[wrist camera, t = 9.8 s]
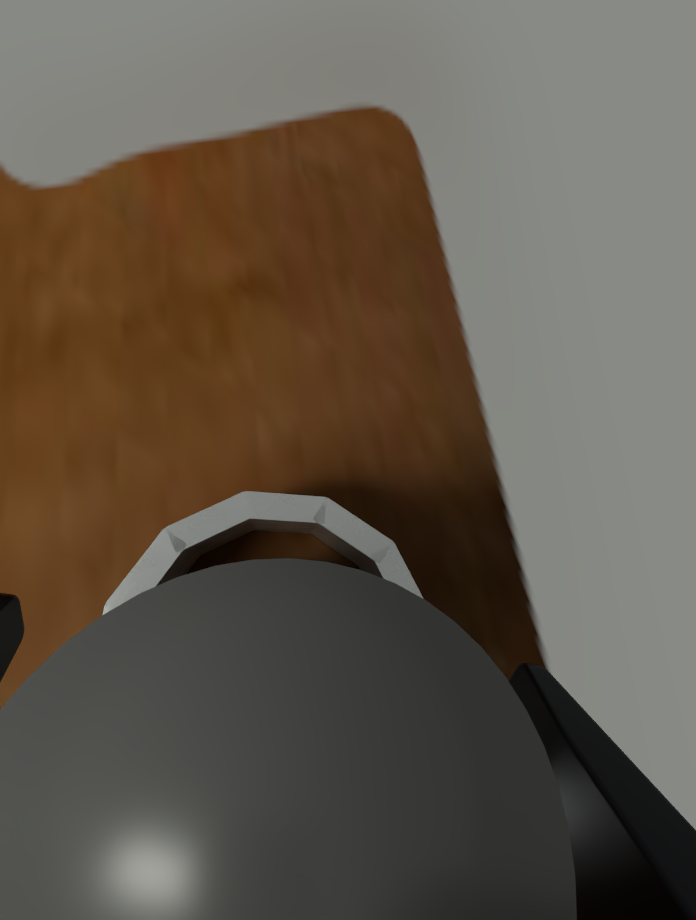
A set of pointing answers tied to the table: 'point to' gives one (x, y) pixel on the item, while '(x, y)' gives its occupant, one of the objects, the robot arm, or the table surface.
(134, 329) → the table surface
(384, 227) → the table surface
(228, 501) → the collar
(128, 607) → the peg
